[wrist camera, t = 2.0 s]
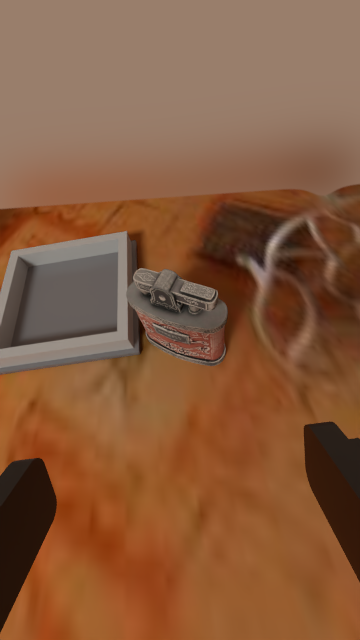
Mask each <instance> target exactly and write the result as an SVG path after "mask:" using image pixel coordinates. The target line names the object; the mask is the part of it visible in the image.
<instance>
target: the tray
mask: <svg viewBox="0 0 360 640" xmlns="http://www.w3.org/2000/svg"><path fill="white" fill-rule="evenodd" d="M136 271H137V243H136V240H133V241H130V238H129V236H128V233H127V231H125V232H119V233H113V234H107V235H102V236H96V237H90V238H84V239H78V240H72V241H67V242H61V243H55V244H49V245H43V246H37V247H32V248H26V249H20V250H14V251H12V252H11V255H10V259H9V263H8V266H7V270H6V274H5V277H4V281H3V285H2V288H1V292H0V375H1V374H7V373H14V372H21V371H28V370H35V369H42V368H49V367H55V366H62V365H69V364H76V363H83V362H90V361H97V360H103V359H110V358H117V357H124V356H131V355H138V354H140V332H139V316H138V314H137V312H136V310H135V309H134V308H132V307H131V306H130V304H129V302H128V300H127V297H126V292H127V289H128V287H129V286H130V284H131V283H132V282H134V280H133V276H134V274H135V272H136Z"/></svg>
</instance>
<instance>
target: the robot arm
mask: <svg viewBox="0 0 360 640" xmlns="http://www.w3.org/2000/svg"><path fill="white" fill-rule="evenodd" d="M304 446H305V466H306V473H307V477H308V481H309V484H310V487H311V489H312V491H313V493H314V495H315V497H316V499H317V501H318V503H319V505H320V507H321V509H322V511H323V512H324V514H325V516H326V518H327V520H328V522H329V524H330V526H331V528H332V530H333V532H334V534H335V535H336V537H337V539H338V541H339V543H340V545H341V547H342V549H343V551H344V553H345V555H346V557H347V559H348V560H349V562H350V564H351V566H352V568H353V570H354V572H355V574H356V576H357V578H358V580H359V582H360V439H359V438H355V439H348V438H347V437H346V436H345V435H344V433H343V432H342V431H341V430H340V429H339V427H338V426H337V425H336V424H335V423H334V422H323V423H316V424H308V425H305V426H304ZM56 506H57V501H56V495H55V492H54V489H53V487H52V484H51V481H50V478H49V475H48V472H47V469H46V467H45V464H44V462H43V460H42V459H40V458H34V459H26V460H18V461H14V462H12V463H11V464H10V465H9V466H8V467H7V468H6V469H5V471H4V472H3V473H2V474H1V476H0V632H1V630H2V628H3V626H4V624H5V622H6V620H7V617H8V615H9V613H10V611H11V609H12V607H13V605H14V603H15V600H16V598H17V596H18V594H19V592H20V590H21V588H22V586H23V584H24V581H25V579H26V577H27V575H28V573H29V571H30V569H31V567H32V564H33V562H34V560H35V558H36V556H37V554H38V552H39V550H40V547H41V545H42V543H43V541H44V539H45V537H46V535H47V533H48V531H49V528H50V526H51V524H52V522H53V520H54V517H55V513H56Z"/></svg>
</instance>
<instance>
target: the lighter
mask: <svg viewBox="0 0 360 640" xmlns="http://www.w3.org/2000/svg"><path fill="white" fill-rule="evenodd" d="M133 280H134V282H132V283H131V284H130V286H129V287H128V289H127V292H126V297H127V300H128V302H129V304H130V306H131V307H132V308H134V309H135V310H136V312H137V314H138V316H139V318H140V320H141V322H142V324H143V326H144V328H145V330H146V336H147V338H148V340H149V342H150V343H151V344H153V345H154V346H156V347H158V348H159V349H161V350H162V351H164V352H166V353H168V354H170V355H173V356H175V357H177V358H179V359H183V360H186V361H189V362H193V363H197V364H202V365H208V366H215V365H218V364H219V363H221V362H222V361H223V359H224V357H225V353H226V347H225V343H224V330H225V324H226V322H227V316H228V311H227V306H226V304H225V303H224V302H223V301H222V300H220V299H218V292H217V290H216V289H213V288H210V287H206V286H203V285H199V284H196V283H193V282H189V281H186V280H182V278H181V277H179V276H178V275H177V274H176V273H175V272H173V271H171V270H167V269H164V270H162V271H161V272H160V273H158V272H154V271H151V270H147V269H143V268H141V269H138V270H137V271H136V272H135V274H134V276H133Z"/></svg>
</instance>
